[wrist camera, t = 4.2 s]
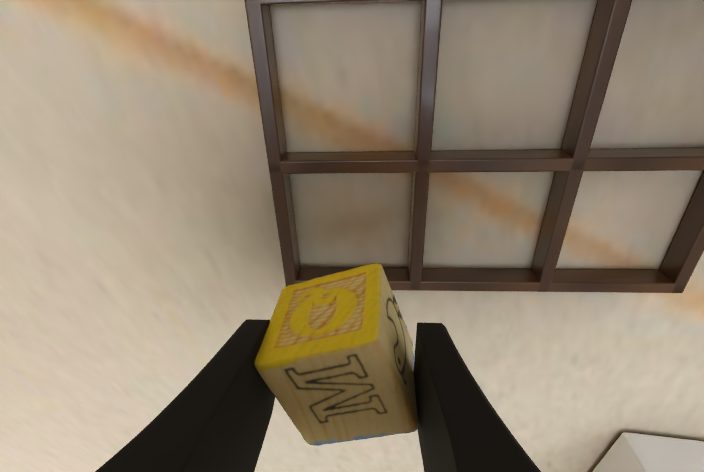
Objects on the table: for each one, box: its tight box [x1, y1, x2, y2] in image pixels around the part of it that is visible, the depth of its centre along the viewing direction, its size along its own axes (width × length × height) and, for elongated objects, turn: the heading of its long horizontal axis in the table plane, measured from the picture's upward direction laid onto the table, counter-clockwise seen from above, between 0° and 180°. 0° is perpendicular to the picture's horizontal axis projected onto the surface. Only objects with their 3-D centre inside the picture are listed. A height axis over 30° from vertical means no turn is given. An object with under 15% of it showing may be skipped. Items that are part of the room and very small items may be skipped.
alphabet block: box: [254, 263, 418, 445], centre depth 10 cm, size 3×3×3 cm
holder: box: [245, 0, 704, 293], centre depth 14 cm, size 16×11×1 cm
